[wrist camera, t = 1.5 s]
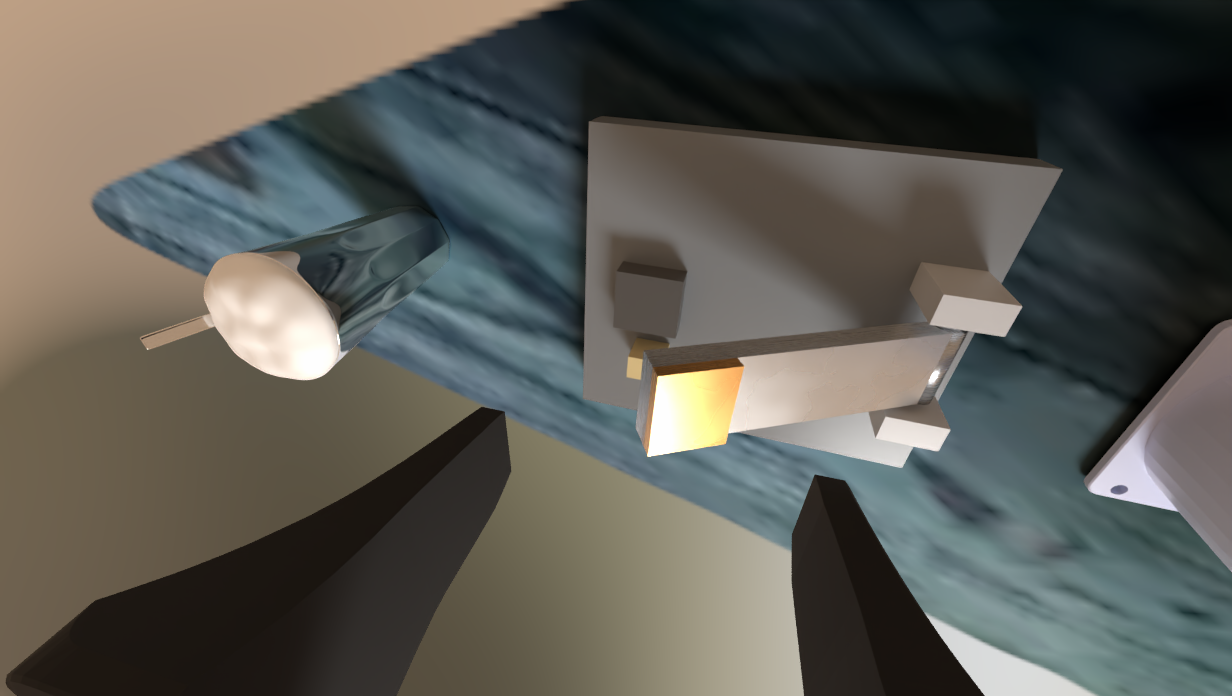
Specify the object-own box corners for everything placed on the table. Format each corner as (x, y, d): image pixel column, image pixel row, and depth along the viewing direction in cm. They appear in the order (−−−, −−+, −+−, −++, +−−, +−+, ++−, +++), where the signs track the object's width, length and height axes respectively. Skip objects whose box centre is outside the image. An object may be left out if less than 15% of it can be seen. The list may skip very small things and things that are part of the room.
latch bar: (949, 317, 16) (984, 337, 15) (915, 385, 17) (945, 408, 16) (642, 348, 13) (658, 376, 12) (634, 425, 15) (648, 456, 14)
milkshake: (347, 189, 22) (97, 274, 14) (450, 189, 21) (240, 284, 12) (378, 281, 24) (181, 401, 16) (473, 287, 23) (309, 421, 15)
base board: (1038, 159, 15) (1114, 191, 12) (894, 443, 21) (916, 515, 18) (601, 116, 17) (563, 132, 14) (592, 380, 24) (564, 433, 21)
